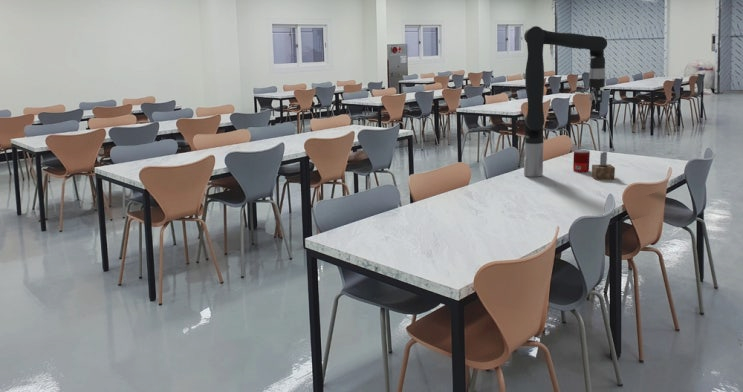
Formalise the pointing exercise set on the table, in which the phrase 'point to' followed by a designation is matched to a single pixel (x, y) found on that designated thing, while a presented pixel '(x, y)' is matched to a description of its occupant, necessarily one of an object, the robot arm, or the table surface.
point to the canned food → (581, 160)
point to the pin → (603, 159)
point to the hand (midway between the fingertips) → (595, 110)
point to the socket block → (603, 172)
